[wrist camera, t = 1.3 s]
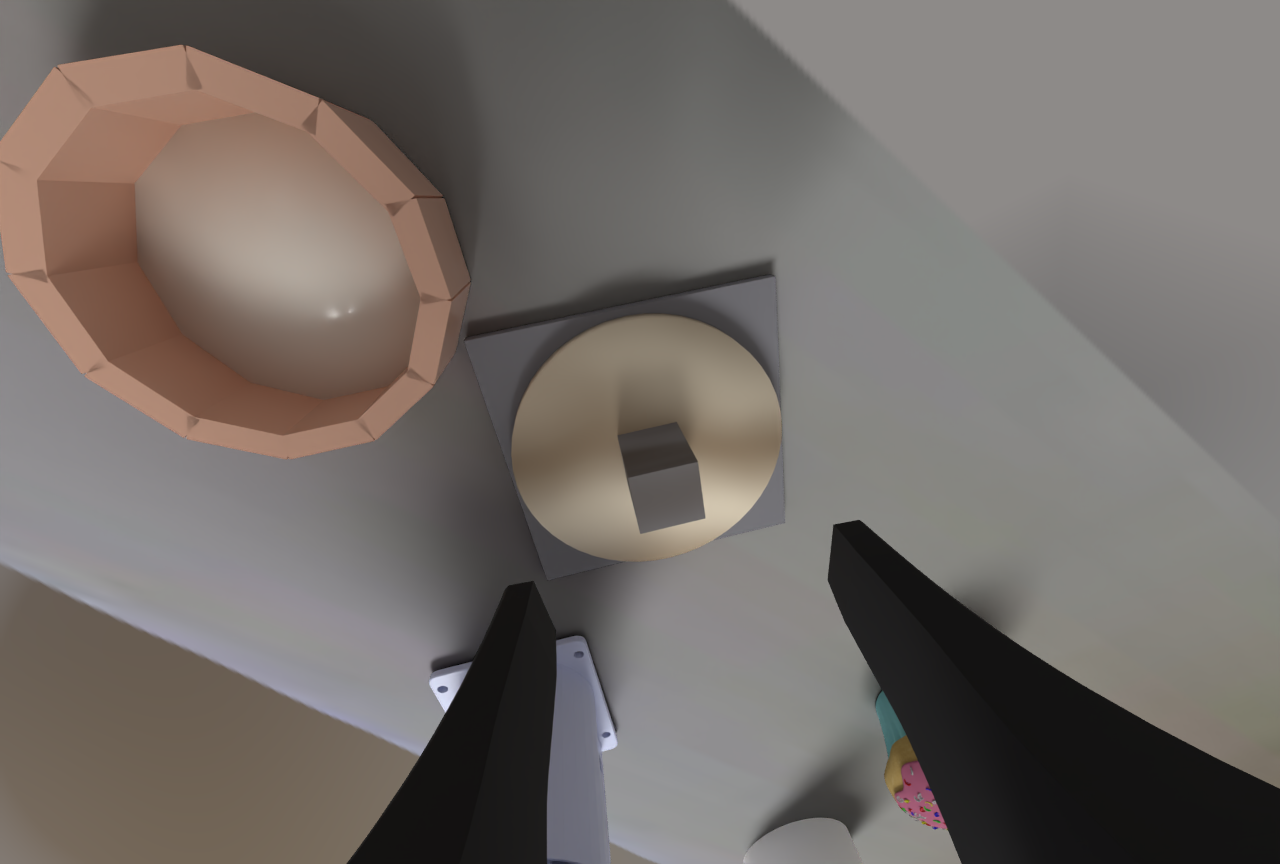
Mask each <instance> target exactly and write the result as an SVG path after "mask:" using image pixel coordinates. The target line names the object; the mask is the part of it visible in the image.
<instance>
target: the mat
mask: <svg viewBox="0 0 1280 864" xmlns="http://www.w3.org/2000/svg"><path fill="white" fill-rule="evenodd" d="M644 313H664V314H672V315H680V316H684V317H688V318H692V319H696V320H699V321H702V322H704V323H706V324H708V325H711V326H713V327H715V328H717V329H719V330H720V331H722V332H724V333H725V334H727V335H728V336H730V337H731V338H733V339H734V340H735V341H736V342H738V343H739V344H740V345H741V346H742V347H743V348H745V349H746V350H747V351H748V352H749V353H750V354H751V355H752V356H753V357H754V358H755V359H756V360H757V362H758V363H759V364H760V365H761V366H762V368H763V369H764V371H765V373H766V374H767V376H768V377H769V379H770V381H771V383H772V386H773V388H774V390H775V392H776V395H777V399H778V403H779V407H780V412H781V404H780V378H779V352H778V326H777V300H776V276H774V275H771V274H769V275H765V276H760V277H755V278H750V279H745V280H741V281H736V282H731V283H726V284H721V285H717V286H712V287H707V288H702V289H697V290H693V291H688V292H683V293H678V294H673V295H669V296H664V297H659V298H654V299H649V300H644V301H640V302H635V303H630V304H625V305H620V306H616V307H611V308H606V309H601V310H596V311H592V312H587V313H582V314H577V315H572V316H568V317H563V318H558V319H553V320H548V321H544V322H539V323H534V324H529V325H524V326H520V327H515V328H510V329H505V330H500V331H495V332H491V333H486V334H481V335H476V336H471V337H467V338H466V339H465V340H464V343H465V346H466V349H467V352H468V355H469V358H470V360H471V363H472V366H473V369H474V372H475V375H476V378H477V381H478V383H479V386H480V389H481V392H482V395H483V398H484V401H485V403H486V406H487V409H488V412H489V415H490V418H491V421H492V424H493V426H494V429H495V432H496V435H497V438H498V441H499V444H500V446H501V449H502V452H503V455H504V458H505V461H506V464H507V467H508V469H509V472H510V475H511V478H512V481H513V484H514V487H515V490H516V492H517V495H518V498H519V501H520V504H521V507H522V510H523V512H524V515H525V518H526V521H527V524H528V527H529V530H530V533H531V535H532V538H533V541H534V544H535V547H536V550H537V553H538V555H539V558H540V561H541V564H542V567H543V570H544V573H545V576H546V578H547V580H552V579H556V578H560V577H564V576H568V575H572V574H576V573H580V572H585V571H589V570H593V569H597V568H601V567H605V566H609V565H613V564H618V563H622V562H626V561H617V560H609V559H605V558H601V557H596V556H593V555H590V554H587V553H584V552H582V551H579V550H577V549H575V548H573V547H571V546H569V545H567V544H565V543H564V542H562V541H561V540H559V539H558V538H556V537H555V536H553V535H552V534H551V533H550V532H549V531H548V530H547V529H545V528H544V527H543V526H542V525H541V524H540V523H539V521H538V520H537V519H536V518H535V517H534V516H533V514H532V513H531V512H530V510H529V508H528V507H527V505H526V504H525V502H524V500H523V498H522V496H521V494H520V491H519V489H518V487H517V484H516V480H515V476H514V472H513V466H512V457H511V449H512V435H513V429H514V424H515V419H516V414H517V410H518V408H519V405H520V402H521V399H522V397H523V394H524V392H525V391H526V389H527V387H528V385H529V383H530V381H531V379H532V378H533V377H534V375H535V374H536V373H537V371H538V370H539V368H540V367H541V366H542V364H543V363H544V362H545V361H546V360H547V359H548V358H549V357H550V356H551V355H552V354H553V353H554V352H555V351H556V350H558V349H559V348H560V347H561V346H563V345H564V344H565V343H566V342H568V341H569V340H570V339H572V338H573V337H575V336H577V335H579V334H580V333H582V332H584V331H585V330H587V329H589V328H592V327H594V326H596V325H599V324H601V323H603V322H606V321H609V320H613V319H616V318H620V317H623V316H630V315H637V314H644ZM782 523H785V508H784V482H783V456H782V437H781V445H780V451H779V456H778V459H777V463H776V466H775V469H774V471H773V474H772V476H771V478H770V480H769V482H768V484H767V486H766V488H765V489H764V491H763V493H762V494H761V496H760V497H759V499H758V500H757V501H756V503H755V504H754V505H753V507H752V508H751V509H750V510H749V511H748V512H747V513H746V514H745V515H744V516H743V517H742V518H741V519H740V520H739V521H738V522H737V523H736V524H735V525H733V526H732V527H731V528H730V529H729V530H727V531H726V532H725V533H723V534H722V535H720V536H719V537H717V538H716V539H721V538H725V537H729V536H733V535H737V534H741V533H745V532H749V531H754V530H758V529H762V528H766V527H770V526H774V525H778V524H782ZM716 539H714V540H716Z"/></svg>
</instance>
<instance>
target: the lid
mask: <svg viewBox="0 0 1280 864" xmlns="http://www.w3.org/2000/svg"><path fill="white" fill-rule="evenodd" d="M781 437H782V421H781V412H780V407H779V403H778V399H777V395H776V392H775V390H774V388H773V386H772V383H771V381H770V379H769V377H768V376H767V374H766V373H765V371H764V369H763V368H762V366H761V365H760V364H759V363H758V362H757V360H756V359H755V358H754V357H753V356H752V355H751V354H750V353H749V352H748V351H747V350H746V349H745V348H743V347H742V346H741V345H740V344H739V343H738V342H736V341H735V340H734V339H733V338H731V337H730V336H728V335H727V334H725V333H724V332H722V331H720V330H719V329H717V328H715V327H713V326H711V325H708V324H706V323H704V322H702V321H699V320H696V319H692V318H688V317H684V316H680V315H672V314H664V313H644V314H637V315H630V316H623V317H620V318H616V319H613V320H609V321H606V322H603V323H601V324H599V325H596V326H594V327H592V328H589V329H587V330H585V331H584V332H582V333H580V334H579V335H577V336H575V337H573V338H572V339H570V340H569V341H568V342H566V343H565V344H564V345H563V346H561V347H560V348H559V349H558V350H556V351H555V352H554V353H553V354H552V355H551V356H550V357H549V358H548V359H547V360H546V361H545V362H544V363H543V364H542V366H541V367H540V368H539V370H538V371H537V373H536V374H535V375H534V377H533V378H532V379H531V381H530V383H529V385H528V387H527V389H526V391H525V392H524V394H523V397H522V399H521V402H520V405H519V408H518V410H517V414H516V419H515V424H514V429H513V435H512V449H511V457H512V466H513V472H514V476H515V480H516V484H517V487H518V489H519V491H520V494H521V496H522V498H523V500H524V502H525V504H526V505H527V507H528V508H529V510H530V512H531V513H532V514H533V516H534V517H535V518H536V519H537V520H538V521H539V523H540V524H541V525H542V526H543V527H544V528H545V529H547V530H548V531H549V532H550V533H551V534H552V535H553V536H555V537H556V538H558V539H559V540H561V541H562V542H564V543H565V544H567V545H569V546H571V547H573V548H575V549H577V550H579V551H582V552H584V553H587V554H590V555H593V556H596V557H601V558H605V559H609V560H617V561H634V562H641V561H652V560H659V559H664V558H669V557H673V556H677V555H680V554H683V553H686V552H689V551H691V550H694V549H696V548H699V547H701V546H703V545H705V544H707V543H708V542H710V541H712V540H714V539H716V538H717V537H719V536H720V535H722V534H723V533H725V532H726V531H727V530H729V529H730V528H731V527H732V526H733V525H735V524H736V523H737V522H738V521H739V520H740V519H741V518H742V517H743V516H744V515H745V514H746V513H747V512H748V511H749V510H750V509H751V508H752V507H753V505H754V504H755V503H756V501H757V500H758V499H759V497H760V496H761V494H762V493H763V491H764V489H765V488H766V486H767V484H768V482H769V480H770V478H771V476H772V474H773V471H774V469H775V466H776V463H777V459H778V456H779V451H780V445H781Z"/></svg>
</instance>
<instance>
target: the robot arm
mask: <svg viewBox="0 0 1280 864" xmlns="http://www.w3.org/2000/svg"><path fill="white" fill-rule="evenodd" d="M828 582H829V584H830V587H831V589H832V592H833V594H834V597H835V599H836V602H837V604H838V607H839V609H840V611H841V614H842V616H843V618H844V621H845V623H846V625H847V627H848V628H849V630H850V632H851V634H852V636H853V638H854V639H855V641H856V643H857V645H858V647H859V649H860V650H861V652H862V654H863V656H864V658H865V660H866V661H867V663H868V665H869V667H870V669H871V670H872V672H873V674H874V676H875V678H876V679H877V681H878V683H879V685H880V687H881V688H882V690H883V692H884V694H885V696H886V697H887V699H888V701H889V703H890V705H891V706H892V708H893V710H894V712H895V714H896V716H897V717H898V719H899V721H900V723H901V725H902V727H903V729H904V731H905V733H906V735H907V737H908V739H909V742H910V744H911V746H912V748H913V751H914V753H915V755H916V757H917V760H918V762H919V764H920V766H921V769H922V771H923V773H924V775H925V778H926V780H927V782H928V784H929V787H930V789H931V791H932V794H933V796H934V798H935V801H936V803H937V805H938V808H939V810H940V812H941V815H942V817H943V819H944V822H945V824H946V827H947V829H948V831H949V834H950V836H951V838H952V841H953V843H954V846H955V848H956V851H957V853H958V856H959V858H960V861H961V863H962V864H1280V789H1279V788H1277V787H1275V786H1273V785H1271V784H1269V783H1267V782H1264V781H1262V780H1260V779H1258V778H1256V777H1254V776H1252V775H1250V774H1248V773H1246V772H1244V771H1242V770H1239V769H1237V768H1235V767H1233V766H1231V765H1229V764H1227V763H1225V762H1223V761H1221V760H1219V759H1217V758H1215V757H1213V756H1211V755H1209V754H1207V753H1205V752H1203V751H1201V750H1199V749H1197V748H1196V747H1194V746H1192V745H1190V744H1188V743H1186V742H1184V741H1182V740H1180V739H1178V738H1176V737H1174V736H1172V735H1171V734H1169V733H1167V732H1165V731H1163V730H1161V729H1159V728H1157V727H1155V726H1154V725H1152V724H1150V723H1148V722H1146V721H1145V720H1143V719H1141V718H1139V717H1138V716H1136V715H1134V714H1132V713H1131V712H1129V711H1127V710H1125V709H1124V708H1122V707H1120V706H1118V705H1117V704H1115V703H1113V702H1111V701H1109V700H1108V699H1106V698H1104V697H1102V696H1101V695H1099V694H1097V693H1095V692H1094V691H1092V690H1090V689H1088V688H1087V687H1085V686H1083V685H1082V684H1080V683H1078V682H1077V681H1075V680H1073V679H1072V678H1070V677H1069V676H1067V675H1065V674H1064V673H1062V672H1060V671H1059V670H1057V669H1056V668H1054V667H1052V666H1051V665H1049V664H1048V663H1046V662H1045V661H1043V660H1041V659H1040V658H1038V657H1037V656H1035V655H1034V654H1032V653H1031V652H1029V651H1028V650H1026V649H1025V648H1023V647H1022V646H1020V645H1019V644H1017V643H1016V642H1014V641H1013V640H1011V639H1010V638H1008V637H1007V636H1005V635H1004V634H1002V633H1001V632H1000V631H998V630H997V629H995V628H994V627H993V626H991V625H990V624H988V623H987V622H986V621H984V620H983V619H981V618H980V617H979V616H977V615H976V614H975V613H973V612H972V611H970V610H969V609H968V608H966V607H965V606H964V605H963V604H961V603H960V602H959V601H957V600H956V599H955V598H953V597H952V596H951V595H949V594H948V593H947V592H946V591H944V590H943V589H942V588H941V587H939V586H938V585H937V584H936V583H934V582H933V581H932V580H930V579H929V578H928V577H927V576H925V575H924V574H923V573H922V572H921V571H919V570H918V569H917V568H916V567H914V566H913V565H912V564H911V563H910V562H908V561H907V560H906V559H905V558H904V557H902V556H901V555H900V554H899V553H898V552H897V551H895V550H894V549H893V548H892V547H891V546H889V545H888V544H887V543H886V542H885V541H884V540H883V539H881V538H880V537H879V536H878V535H877V534H876V533H874V532H873V531H872V530H871V529H870V528H869V527H868V526H866V525H865V524H864V523H863V522H861V521H860V520H856V521H851V522H845V523H840V524H835V525H833V535H832V544H831V553H830V563H829V572H828ZM577 651H580V652H577ZM429 685H430V687H431V688H432V690H433V692H434V694H435V695H436V697H437V699H438V701H439V702H440V704H441V706H442V707H443V709H444V711H445V715H444V717H443V718H442V720H441V722H440V724H439V726H438V727H437V729H436V731H435V733H434V734H433V736H432V738H431V739H430V741H429V743H428V744H427V746H426V748H425V749H424V751H423V753H422V754H421V756H420V758H419V759H418V761H417V763H416V764H415V766H414V767H413V769H412V770H411V772H410V773H409V775H408V777H407V778H406V780H405V781H404V783H403V784H402V786H401V787H400V789H399V790H398V792H397V793H396V795H395V796H394V798H393V799H392V801H391V802H390V804H389V805H388V807H387V808H386V810H385V811H384V813H383V814H382V816H381V817H380V818H379V820H378V821H377V823H376V824H375V826H374V827H373V829H372V830H371V831H370V833H369V834H368V835H367V837H366V838H365V840H364V841H363V842H362V844H361V845H360V847H359V848H358V849H357V851H356V852H355V853H354V855H353V856H352V857H351V859H350V860H349V861H348V863H347V864H611V860H610V847H609V833H608V821H607V809H606V797H605V785H604V773H603V760H602V752H603V751H606V750H610V749H613V748H615V747H616V746H617V744H618V740H617V735H616V732H615V728H614V725H613V722H612V719H611V716H610V713H609V710H608V707H607V704H606V701H605V698H604V694H603V691H602V688H601V685H600V682H599V679H598V676H597V673H596V670H595V667H594V664H593V661H592V657H591V654H590V651H589V648H588V645H587V642H586V640H585V638H584V637H582V636H572V637H568V638H564V639H560V640H556V630H555V628H554V626H553V623H552V621H551V619H550V617H549V614H548V612H547V610H546V608H545V606H544V603H543V601H542V599H541V597H540V594H539V592H538V590H537V588H536V585H535V583H534V581H531V582H525V583H520V584H515V585H509V586H508V587H507V588H506V589H505V591H504V594H503V596H502V598H501V601H500V603H499V605H498V608H497V610H496V612H495V615H494V617H493V619H492V621H491V624H490V626H489V628H488V630H487V632H486V635H485V637H484V639H483V641H482V643H481V645H480V647H479V649H478V651H477V653H476V655H475V658H474V660H473V661H472V662H468V663H464V664H460V665H456V666H452V667H448V668H445V669H441V670H437V671H434V672H433V673H432V674H431V676H430V679H429Z"/></svg>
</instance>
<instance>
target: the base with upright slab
mask: <svg viewBox="0 0 1280 864" xmlns="http://www.w3.org/2000/svg"><path fill="white" fill-rule="evenodd" d="M744 864H863V862H862V860H861V857H860V855H859V853H858V851H857V849H856V847H855V844H854V842H853V840H852V838H851V836H850V834H849V831H848V829H847V827H846V826H845V825H844V824H843V823H842V822H840V821H838V820H835V819H832V818H810V819H804V820H800V821H796V822H792V823H789V824H786V825H784V826H781V827H779V828H777V829H775V830H773V831H771V832H769V833H767V834H766V835H764V836H763V837H761V838H760V839H759V840H758V841H756V842H755V843H754V844H753V845H752V846H751V847H750V848H749V850H748V851H747V853H746V855H745V857H744Z"/></svg>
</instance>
